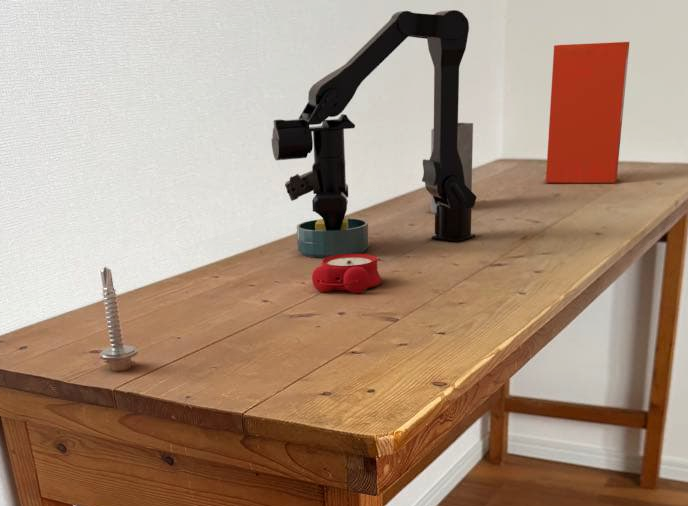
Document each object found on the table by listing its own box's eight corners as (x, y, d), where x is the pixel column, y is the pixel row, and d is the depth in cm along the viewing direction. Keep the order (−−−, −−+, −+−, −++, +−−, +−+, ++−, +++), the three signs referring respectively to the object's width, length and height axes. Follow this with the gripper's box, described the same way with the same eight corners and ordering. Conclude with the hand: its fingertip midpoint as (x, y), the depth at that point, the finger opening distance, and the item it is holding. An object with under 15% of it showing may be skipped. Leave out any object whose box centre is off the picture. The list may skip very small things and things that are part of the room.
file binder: (549, 179, 253) (558, 44, 238) (616, 179, 247) (629, 41, 232) (545, 183, 246) (553, 45, 231) (614, 183, 241) (627, 42, 225)
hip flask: (440, 213, 214) (441, 117, 205) (424, 212, 216) (425, 117, 207) (473, 202, 225) (475, 110, 216) (458, 201, 227) (460, 111, 218)
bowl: (382, 248, 183) (382, 221, 181) (336, 261, 174) (335, 233, 172) (330, 241, 191) (329, 215, 189) (284, 254, 183) (282, 227, 180)
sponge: (348, 245, 184) (348, 218, 182) (347, 249, 180) (346, 222, 178) (318, 246, 185) (317, 219, 182) (316, 250, 181) (315, 223, 179)
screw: (95, 372, 122) (113, 361, 126) (128, 374, 120) (145, 363, 124) (77, 270, 116) (97, 262, 120) (113, 271, 114) (131, 262, 118)
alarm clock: (389, 254, 160) (365, 252, 146) (387, 292, 161) (364, 294, 148) (330, 253, 163) (302, 251, 149) (330, 291, 164) (301, 292, 151)
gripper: (289, 152, 183) (294, 235, 191) (282, 164, 167) (287, 254, 174) (347, 150, 183) (349, 233, 190) (345, 161, 166) (348, 252, 174)
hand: (333, 242), depth 182 cm, fingers closed on sponge, 4 cm apart
